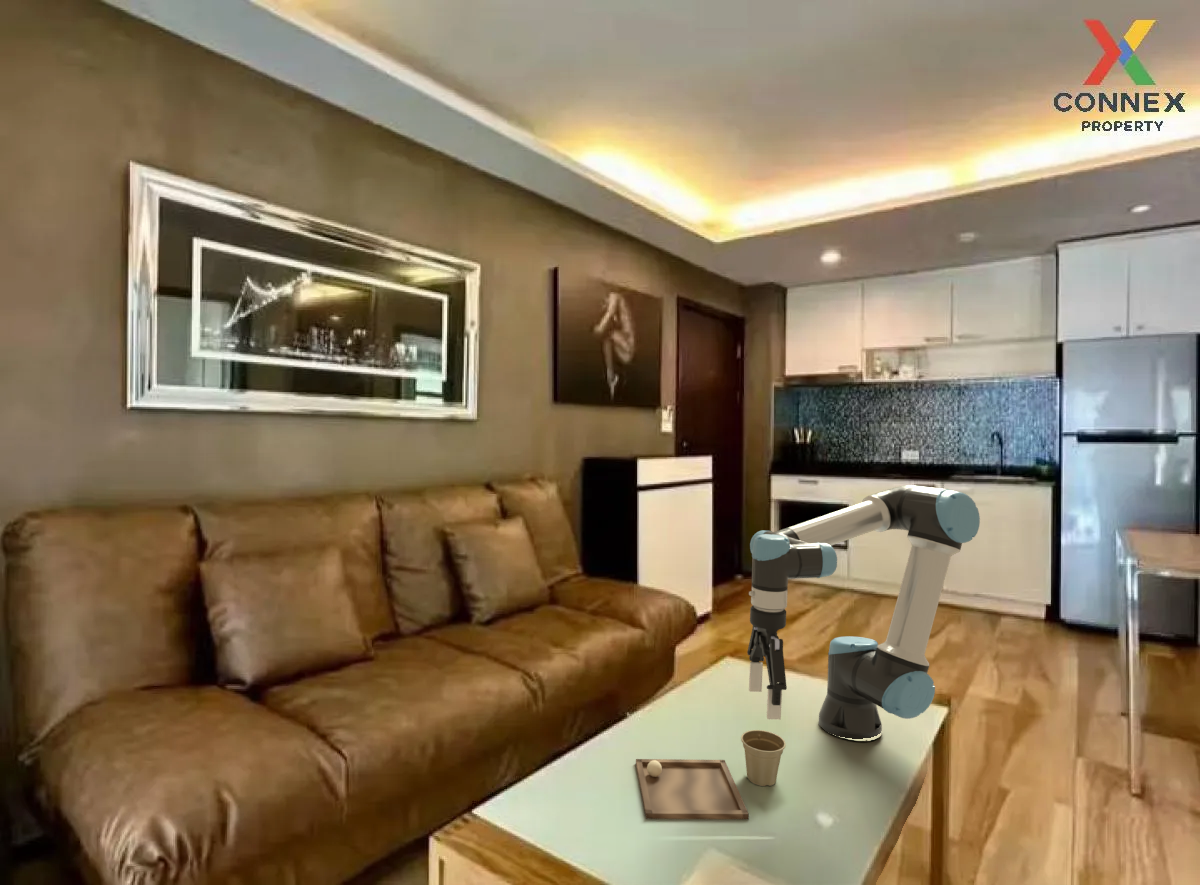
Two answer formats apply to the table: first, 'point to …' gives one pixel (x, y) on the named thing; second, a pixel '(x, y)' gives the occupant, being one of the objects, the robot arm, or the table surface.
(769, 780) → the flower pot
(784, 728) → the table surface
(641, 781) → the tray
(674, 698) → the table surface
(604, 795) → the table surface
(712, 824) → the table surface
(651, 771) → the cream white ball
